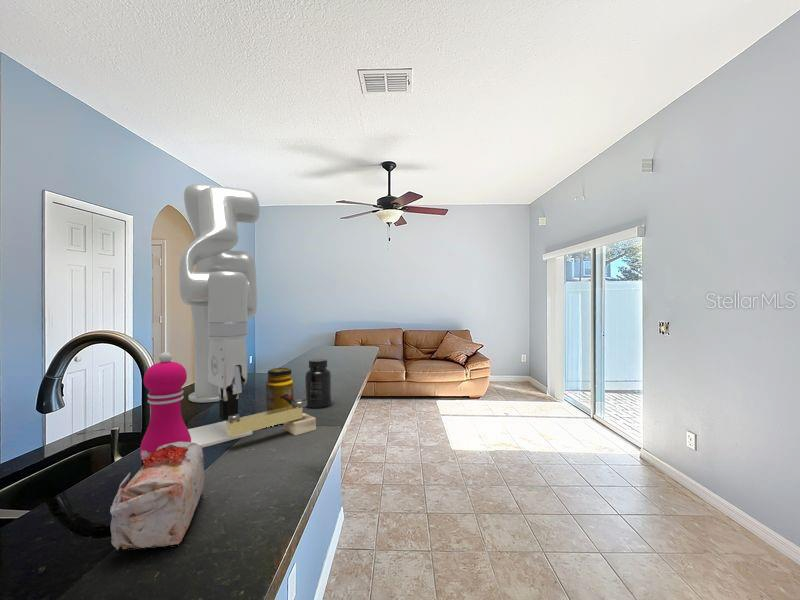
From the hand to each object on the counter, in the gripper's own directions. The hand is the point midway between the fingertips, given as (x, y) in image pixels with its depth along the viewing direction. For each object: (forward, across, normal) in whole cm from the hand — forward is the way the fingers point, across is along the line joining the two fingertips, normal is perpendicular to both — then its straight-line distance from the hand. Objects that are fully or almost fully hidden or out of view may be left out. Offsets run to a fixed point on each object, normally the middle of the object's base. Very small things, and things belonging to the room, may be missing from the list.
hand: (228, 417), depth 79 cm
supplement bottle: (+4, -5, +25) cm, 26 cm away
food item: (+4, +26, -18) cm, 32 cm away
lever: (+1, +8, +5) cm, 9 cm away
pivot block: (+4, +8, +12) cm, 15 cm away
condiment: (+4, -1, +11) cm, 12 cm away
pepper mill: (+4, +11, -14) cm, 18 cm away
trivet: (+4, -2, -2) cm, 5 cm away
